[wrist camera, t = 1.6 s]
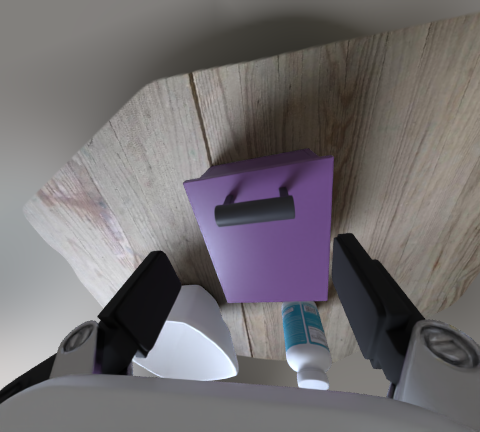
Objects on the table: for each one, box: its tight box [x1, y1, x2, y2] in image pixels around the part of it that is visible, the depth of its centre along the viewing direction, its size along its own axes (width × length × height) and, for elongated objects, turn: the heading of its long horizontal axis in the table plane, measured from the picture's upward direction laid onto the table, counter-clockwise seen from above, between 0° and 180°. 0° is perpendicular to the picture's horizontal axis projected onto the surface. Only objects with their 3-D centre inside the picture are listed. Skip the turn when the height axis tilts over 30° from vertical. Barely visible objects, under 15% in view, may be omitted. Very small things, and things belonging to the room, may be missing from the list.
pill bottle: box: [282, 301, 332, 390], centre depth 33 cm, size 8×7×14 cm
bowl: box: [132, 285, 239, 381], centre depth 38 cm, size 22×22×12 cm
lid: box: [183, 155, 334, 303], centre depth 19 cm, size 18×14×5 cm
